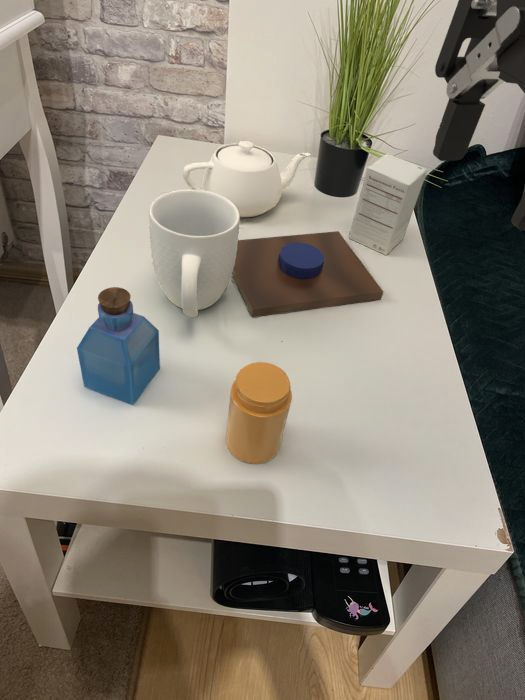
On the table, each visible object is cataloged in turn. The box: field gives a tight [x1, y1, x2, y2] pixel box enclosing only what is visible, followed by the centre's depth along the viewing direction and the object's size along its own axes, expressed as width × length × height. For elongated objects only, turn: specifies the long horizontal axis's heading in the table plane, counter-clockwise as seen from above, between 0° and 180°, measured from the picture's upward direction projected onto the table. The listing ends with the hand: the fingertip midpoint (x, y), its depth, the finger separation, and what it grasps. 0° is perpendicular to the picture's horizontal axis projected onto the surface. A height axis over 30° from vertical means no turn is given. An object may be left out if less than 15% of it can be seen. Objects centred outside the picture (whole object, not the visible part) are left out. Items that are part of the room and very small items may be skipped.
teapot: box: [182, 140, 311, 218], centre depth 88 cm, size 22×14×11 cm, turn 109°
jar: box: [224, 361, 293, 465], centre depth 53 cm, size 6×6×10 cm
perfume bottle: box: [76, 286, 161, 406], centre depth 56 cm, size 6×6×12 cm
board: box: [231, 230, 384, 318], centre depth 78 cm, size 20×16×2 cm
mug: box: [148, 188, 241, 318], centre depth 66 cm, size 15×11×13 cm
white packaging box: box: [348, 153, 428, 256], centre depth 84 cm, size 7×7×13 cm
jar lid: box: [278, 243, 324, 279], centre depth 77 cm, size 7×7×2 cm
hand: (483, 189), depth 33 cm, fingers open, 8 cm apart
